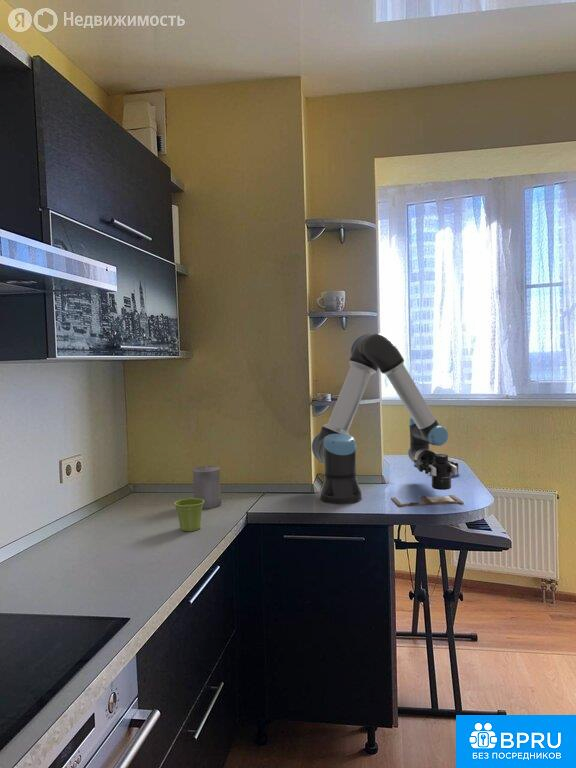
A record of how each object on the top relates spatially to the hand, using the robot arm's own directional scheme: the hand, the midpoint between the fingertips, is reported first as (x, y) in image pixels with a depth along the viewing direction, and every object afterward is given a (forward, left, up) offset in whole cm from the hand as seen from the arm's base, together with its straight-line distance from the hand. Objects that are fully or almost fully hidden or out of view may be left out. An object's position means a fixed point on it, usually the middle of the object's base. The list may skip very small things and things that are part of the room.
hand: (445, 471), depth 203 cm
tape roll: (+15, +48, -12) cm, 52 cm away
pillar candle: (-84, +12, -12) cm, 86 cm away
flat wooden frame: (-6, +5, -11) cm, 14 cm away
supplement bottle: (0, +5, -7) cm, 9 cm away
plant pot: (-87, -16, -12) cm, 90 cm away
